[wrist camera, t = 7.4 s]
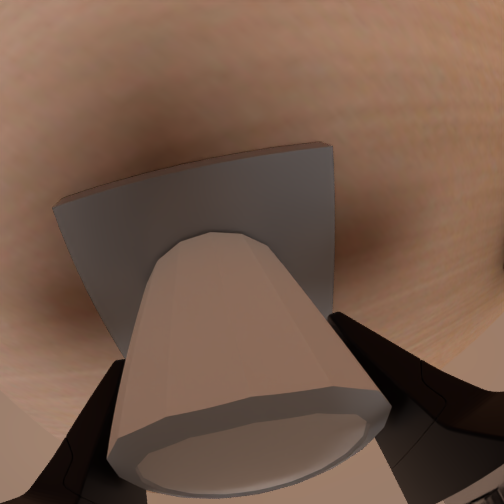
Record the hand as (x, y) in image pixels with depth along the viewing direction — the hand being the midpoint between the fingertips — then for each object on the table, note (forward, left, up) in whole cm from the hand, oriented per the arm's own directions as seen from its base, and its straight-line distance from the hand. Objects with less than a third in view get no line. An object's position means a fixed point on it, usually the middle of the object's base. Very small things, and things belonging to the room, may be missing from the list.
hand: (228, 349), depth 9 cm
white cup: (0, 0, -3) cm, 3 cm away
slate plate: (0, 0, -4) cm, 4 cm away
